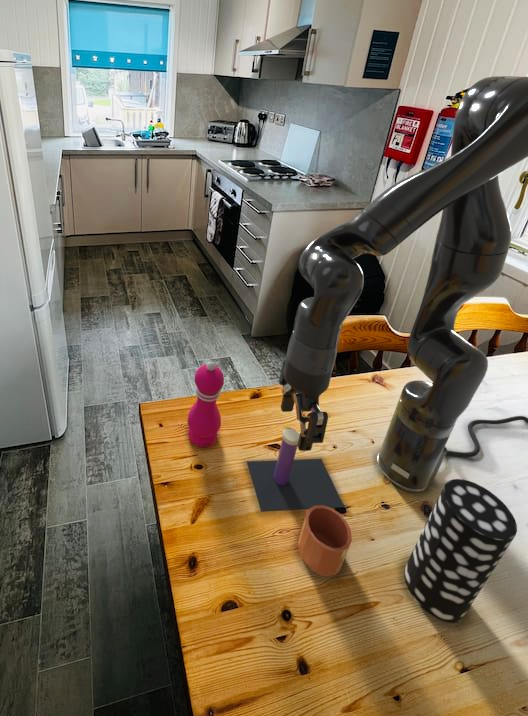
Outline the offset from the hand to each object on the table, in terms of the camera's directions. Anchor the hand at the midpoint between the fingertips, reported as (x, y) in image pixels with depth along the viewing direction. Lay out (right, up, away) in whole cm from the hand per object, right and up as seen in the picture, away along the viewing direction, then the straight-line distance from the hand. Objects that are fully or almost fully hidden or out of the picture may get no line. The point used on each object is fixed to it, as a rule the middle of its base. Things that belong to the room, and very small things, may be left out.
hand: (294, 428), depth 72 cm
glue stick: (-1, -12, +5) cm, 13 cm away
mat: (+1, -13, +5) cm, 14 cm away
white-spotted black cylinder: (+18, -21, -10) cm, 30 cm away
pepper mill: (-16, -8, +14) cm, 23 cm away
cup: (+2, -18, -6) cm, 19 cm away
